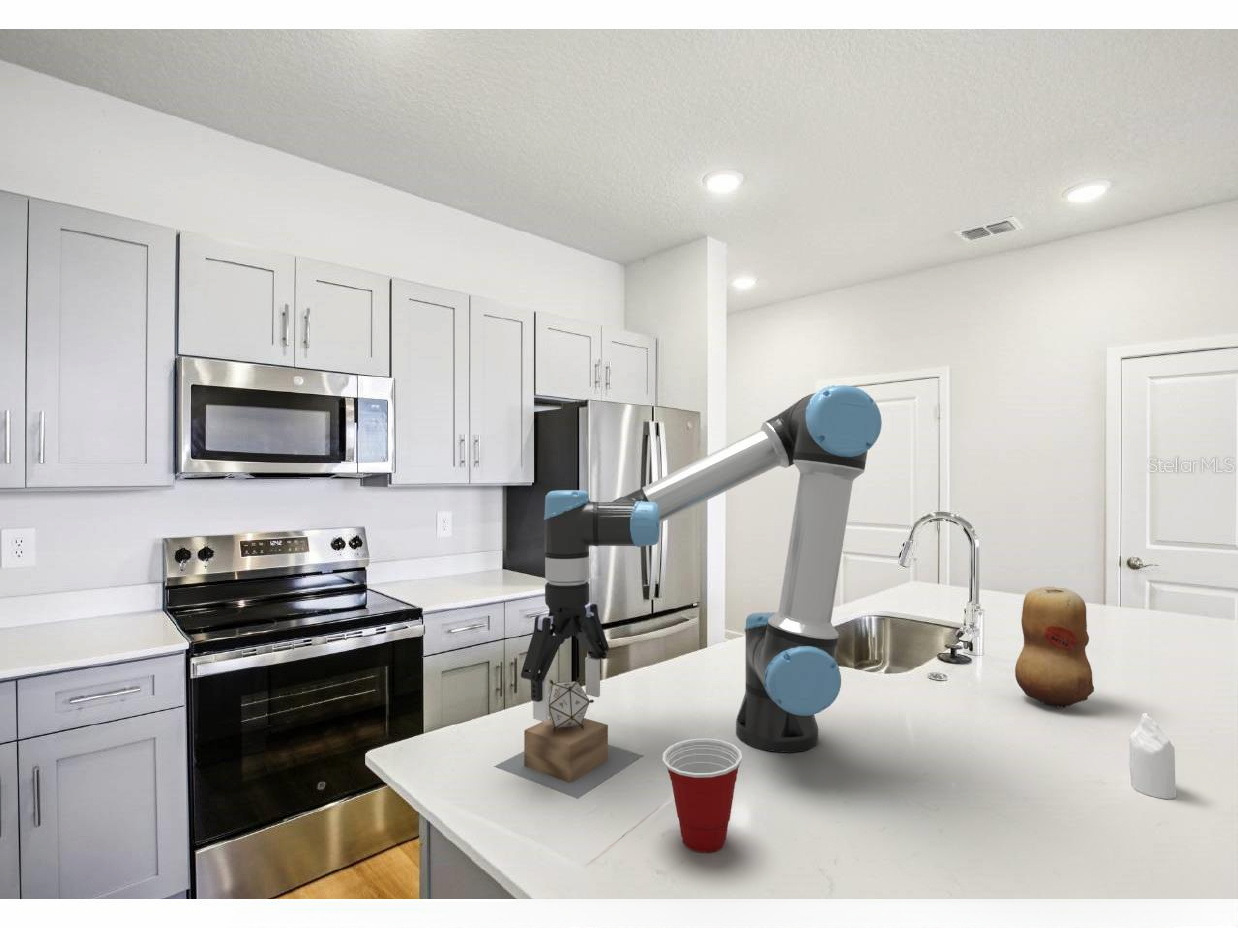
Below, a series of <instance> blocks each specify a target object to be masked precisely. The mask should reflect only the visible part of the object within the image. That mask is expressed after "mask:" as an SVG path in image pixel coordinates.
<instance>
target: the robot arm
mask: <svg viewBox="0 0 1238 928" xmlns="http://www.w3.org/2000/svg"><path fill="white" fill-rule="evenodd" d="M878 406H879V405H877V403H876V402H875V400H874V399H873V398H872V397H871V395H869V394H868V393H867V392H865V391H864V390H862V389H861V388H858V387H856V386H853V385H852V386H851V385H848V384H847V385H846V384H841V385H839V384H838V385H828V386H826V387H823V388H821V389H819V390H818V391H816V392H814V393H811V394H808V395H806V396H804V397H802V398H801V399H799V400H798V401H796V402H795V403H793V404H792V405H791V406H789V407H788V408H787V409H784V410H783V411H781V412H780V413H779V414H777V415H775V416H773V417H771V418H769V419H768V420H765V421H764V422H762V424H761V427H760V429H759V430H757V431H755V432H753V433H750V434H749V435H747V436H745V437H743V438H741V439H738V440H736V441H735V442H733V443H730V444H729V445H726V446H725V447H722V448H721V449H717V450H716V451H714V452H712V453H711V454H709V455H708V454H707V455H706V456H703V457H702V458H700V459H698V460H696V461H694V462H692V463H689V464H688V465H686V466H684V467H682V468H680V469H677V470H676V471H674V472H672V473H669V474H667V475H666V476H663V477H662V478H659V479H657V480H654V481H653V482H651V483H649V484H646V485H645V486H643V487H641V488H639V489H637V490H635V491H633V492H630V493H628V494H627V495H625V496H620V497H618V498H616V499H614V500H613V501H604V502H603V501H602V502H601V501H600V502H599V501H591V498H590V496H589V492H588V491H586V490H581V489H579V490H578V489H577V490H575V489H574V490H573V489H571V490H570V489H567V490H566V489H563V490H561V489H560V490H559V489H558V490H552V491H549V492H548V493H547V494H546V495H545V499H544V516H543V523H544V526H543V527H544V528H543V529H544V557H545V558H544V567H545V568H544V574H545V575H544V578H545V580H546V581H547V582H546V584H545V585H544V603H545V605H546V606H547V607H548V609H549V611H548V615H547V616H540V615H536V616H535V618H534V623H533V624H534V625H533V632H532V636H531V639H530V642H529V646H528V648H527V653H526V656H525V659H524V662H523V665H522V668H521V672H520V677H521V678H522V679H523V680H529V681H530V698H531V701H532V719H534V720H536V721H539V722H547V721H549V691H550V688H549V687H550V686H549V683H550V681H549V679H546V677H547V674H548V672H549V670H550V668H551V665H552V663H553V662H554V659H555V657H556V655H557V653H558V650H559V649H560V646H561V645H562V644H564V642H565V640H569V639H570V638H572V637H576V638H577V640H578V641H579V642H580V644H581V646H582V647H583V649H584V651H586V653H587V655H588V656H587V657H585V659H584V665H585V668H584V669H585V670H584V673H585V676H584V677H585V685H584V686H585V694H586V696H591V697H595V698H599V697H601V673H602V669H601V668H602V663H601V662H602V660H601V659H603V660H604V659H606V658H607V653H608V652H609V650H610V647H609V643H608V641H607V637H606V635H605V632H604V629H603V626H602V623H601V620H600V617H599V610H598V609H599V608H598V607H599V606H598V604H597V603H590V599H591V598H590V596H591V595H590V583H589V582H588V580H589V579H590V578H591V577H590V576H591V573H590V571H591V570H590V547H601V546H602V547H607V546H608V547H637V548H640V547H647V546H656V545H657V544H658V543H659V541H660V534H661V533H660V531H661V530H660V528H661V527H660V526H661V525H660V524H661V523H663V522H665V521H667V520H670V519H671V518H673V517H675V516H678V515H680V514H682V513H683V512H686V511H688V510H690V509H691V508H694V507H696V506H698V505H701V504H702V503H705V502H707V501H708V500H710V499H712V498H715V497H717V496H719V495H721V494H723V493H725V492H727V491H729V490H731V489H733V488H735V487H737V486H738V487H739V486H740V485H741V484H744V483H746V482H747V481H750V480H752V479H754V478H756V477H758V476H760V475H763V474H765V473H766V472H769V471H771V470H772V469H774V468H777V467H782V468H785V469H787V468H788V467H791V466H793V465H794V466H795V467H796V468H797V469H798V471H799V472H798V473H799V479H798V486H797V493H796V498H795V505H794V511H793V516H792V523H791V531H790V536H789V544H788V548H787V549H788V550H787V556H786V561H785V567H784V573H783V580H782V581H783V582H782V586H781V594H780V601H779V606H778V611H777V612H754V613H751V614H749V615H747V617H746V618H745V627H744V632H745V692H744V695H743V699H742V701H741V704H740V706H739V707H740V708H739V711H738V713H737V716H736V721H735V726H736V727H735V733H736V736H737V738H738V739H739V740H740V741H742V742H743V743H745V744H747V745H748V746H751V747H754V748H757V749H761V750H764V751H771V752H778V753H779V752H780V753H797V752H803V751H807V750H810V749H812V748H814V747H815V746H816V745H818V743H819V726H818V722H817V719H816V717H815V715H817V714H819V713H822V712H823V711H825V710H826V709H828V708H829V707H830V706H832V704H833V703H834V702H835V701H836V699H837V697H838V695H839V694H840V691H841V687H842V675H841V671H840V670H841V669H840V667H839V665H838V663H837V661H836V657H837V656H836V655H837V650H838V641H839V635H840V634H839V632H838V631H837V630H836V629H835V627H834V625H833V623H832V616H833V611H834V605H835V598H836V591H837V585H838V579H839V572H840V567H841V566H840V565H841V561H842V560H841V559H842V553H843V548H844V547H843V546H844V542H845V534H846V528H847V527H846V526H847V521H848V514H849V511H850V510H849V509H850V503H851V502H850V501H851V495H852V489H853V483H854V481H855V480H856V478H858V477H859V476H861V475H863V474H864V473H865V469H866V462H867V458H868V451H869V450H871V449H872V447H873V446H874V445H875V444H876V442H877V440H878V439H879V437H880V434H881V431H882V424H883V423H882V422H883V421H882V414H881V412H880V408H879V407H878Z"/></svg>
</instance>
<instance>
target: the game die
mask: <svg viewBox="0 0 1238 928" xmlns="http://www.w3.org/2000/svg"><path fill="white" fill-rule="evenodd" d="M580 680H581V677H580V676H579V677H577V679H576V680H573V681H563V682H554V681H553V679H549V683H550V684H551V685H550V688H549V718H550V720H551V721H552V723H553V725H554V728H553V733H554V732H555V731H556V728H561V727H569V726H578V725H580V727H581V728H582V729H584V726H583V725H582V721H583V719H584V718H585V717H586V714H587V710H588V708H589V705H590V704H593V703H594V702H595V700H593V699H589V697H588V695H586V691H584V689H583V687H582V686H581V684H580Z"/></svg>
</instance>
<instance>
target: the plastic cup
mask: <svg viewBox="0 0 1238 928" xmlns="http://www.w3.org/2000/svg"><path fill="white" fill-rule="evenodd" d="M742 761H743V755H742V751H741V749H739V747H737V746H736V745H735V744H733V743H731V742H728V741H726V740H720V739H715V738H708V737H707V738H691V739H686V740H681V741H679V742H677V743H674V744H671V745H670V746H668V747H667V748H666V750H665V751H663V753H662V762H663V764H664V766H665V767H666V769H667V772H668V774H669V778H670V782H671V785H672V786H671V787H672V793H673V797H674V799H673V800H674V803H675V808H676V809H675V810H676V814H677V816H676V817H677V818H678V825H679V829H680V830H679V832H680V837H681V838H682V843H683V844H684V845H685V847H686V848H688V849H690V850H691V851H694V852H697V853H707V854H708V853H715V852H717V851H719V850H721V849H722V848H723V847H724V845H725V841H726V840H727V835H728V827H729V822H730V819H731V814H732V813H731V812H732V806H733V800H734V794H735V788H736V787H735V786H736V782H737V778H738V777H737V776H738V774H739V767H740V764H741V763H742Z"/></svg>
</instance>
